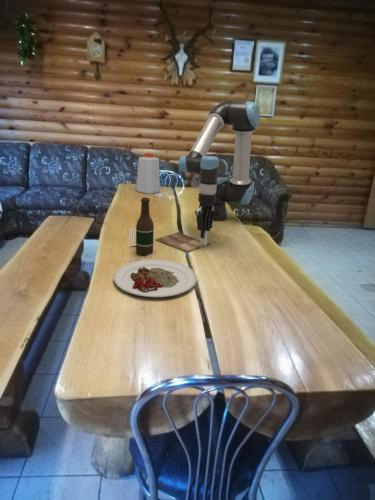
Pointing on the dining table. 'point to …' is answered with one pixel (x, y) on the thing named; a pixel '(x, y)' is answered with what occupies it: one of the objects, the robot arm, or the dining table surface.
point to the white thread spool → (148, 174)
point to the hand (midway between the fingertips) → (203, 244)
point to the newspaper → (132, 237)
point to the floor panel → (175, 239)
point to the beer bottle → (144, 230)
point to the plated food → (155, 278)
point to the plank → (190, 246)
